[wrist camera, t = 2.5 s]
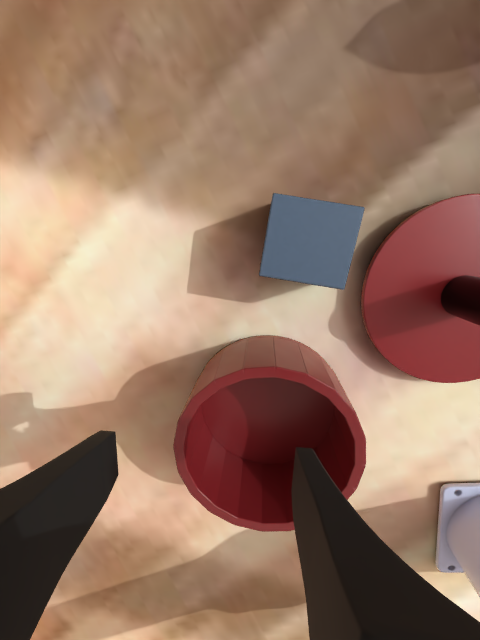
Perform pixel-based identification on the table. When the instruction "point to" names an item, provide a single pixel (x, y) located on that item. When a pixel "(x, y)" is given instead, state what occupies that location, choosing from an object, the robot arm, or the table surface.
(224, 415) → the tin
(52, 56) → the table surface
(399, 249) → the tin lid
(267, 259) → the block
